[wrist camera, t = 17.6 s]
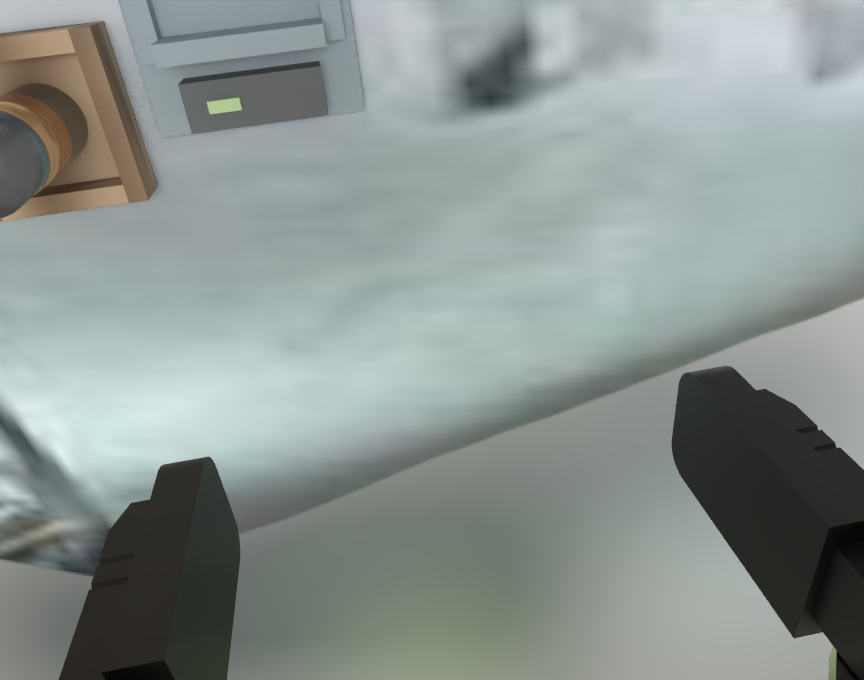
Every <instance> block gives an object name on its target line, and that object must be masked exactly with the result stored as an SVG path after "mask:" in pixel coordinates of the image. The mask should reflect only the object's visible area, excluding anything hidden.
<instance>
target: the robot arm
mask: <svg viewBox="0 0 864 680" xmlns="http://www.w3.org/2000/svg"><path fill="white" fill-rule="evenodd" d="M672 452H673V457H674V461H675V464H676V467H677V469H678V471H679V473H680V475H681V477H682V478H683V480H684V481H685V483H686V484H687V486H688V487H689V488H690V490H691V491H692V492H693V494H694V495H695V497H696V498H697V500H698V501H699V503H700V504H701V506H702V507H703V509H704V510H705V511H706V513H707V514H708V516H709V517H710V519H711V520H712V521H713V523H714V524H715V526H716V527H717V529H718V530H719V531H720V533H721V534H722V535H723V537H724V539H725V540H726V542H727V543H728V544H729V546H730V547H731V549H732V550H733V551H734V553H735V554H736V556H737V557H738V559H739V560H740V562H741V563H742V564H743V566H744V567H745V568H746V570H747V572H748V573H749V574H750V576H751V577H752V579H753V580H754V581H755V583H756V584H757V586H758V587H759V589H760V590H761V592H762V593H763V595H764V596H765V597H766V599H767V600H768V602H769V603H770V605H771V606H772V608H773V609H774V610H775V612H776V613H777V615H778V616H779V618H780V619H781V620H782V622H783V623H784V625H785V626H786V628H787V629H788V630H789V632H790V633H791V635H792V636H793V638H797V637H802V636H807V635H812V634H816V633H820V632H823V633H824V634H825V635H826V637H827V638H828V639H829V641H830V642H831V643H832V645H833V648H832V651H831V654H830V659H829V680H864V470H863V469H862V468H861V467H860V466H859V465H858V464H857V463H856V462H855V461H854V460H853V459H852V458H851V457H849V456H848V455H847V454H846V453H845V452H844V451H843V450H842V449H841V448H837V447H836V446H835V442H834V441H833V440H832V439H831V438H830V437H828V436H827V435H826V434H825V433H824V432H823V431H822V430H818V429H817V425H816V424H815V423H814V422H813V421H812V420H810V418H808V417H807V416H806V415H805V414H804V413H803V412H802V411H801V410H800V409H799V408H798V407H797V406H796V405H794V404H792V403H791V402H789V401H786V400H785V399H783V398H781V397H779V396H777V395H775V394H773V393H772V392H770V391H768V390H766V389H763V390H757V391H756V390H755V389H754V388H753V387H752V386H751V385H750V384H749V383H748V382H747V381H746V380H745V379H744V378H743V377H742V376H741V375H740V374H739V373H738V372H737V371H736V370H735V369H733V368H732V367H730V366H722V367H716V368H712V369H706V370H700V371H694V372H688V373H685V374H683V375H682V377H681V379H680V381H679V388H678V395H677V404H676V411H675V419H674V427H673V435H672ZM99 560H100V565H97V568H96V571H95V574H94V577H93V580H92V583H91V584H92V589H91V590H89V592H88V595H87V598H86V601H85V604H84V607H83V610H82V613H81V615H80V618H79V621H78V625H77V627H76V630H75V634H74V636H73V639H72V642H71V645H70V648H69V651H68V654H67V657H66V660H65V663H64V666H63V669H62V672H61V675H60V678H59V680H227V672H228V663H229V654H230V646H231V636H232V628H233V618H234V609H235V600H236V591H237V582H238V573H239V564H240V541H239V533H238V528H237V524H236V521H235V518H234V515H233V512H232V510H231V507H230V504H229V501H228V499H227V496H226V493H225V490H224V488H223V485H222V482H221V479H220V477H219V474H218V471H217V468H216V466H215V463H214V461H213V460H212V459H211V458H210V457H204V458H199V459H193V460H187V461H182V462H176V463H170V464H165V465H162V466H161V467H160V469H159V471H158V473H157V477H156V481H155V484H154V488H153V491H152V495H151V498H150V500H146V501H140V502H135V503H131V504H130V505H129V506H128V508H127V509H126V510H125V511H124V513H123V514H122V515H121V516H120V518H119V519H118V520H117V521H116V523H115V524H114V525H113V526H112V528H111V529H110V530H109V533H108V536H107V539H106V541H105V544H104V547H103V550H102V553H101V556H100V559H99Z"/></svg>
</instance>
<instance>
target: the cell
mask: <svg viewBox="0 0 864 680" xmlns="http://www.w3.org/2000/svg"><path fill="white" fill-rule="evenodd" d="M87 139H88V126H87V122H86V118H85V116H84V114H83V112H82V110H81V108H80V107H79V106H78V104H77V103H76V102H75V101H74V100H73V99H72V98H71V97H70V96H69V95H67V94H66V93H64V92H63V91H61V90H59V89H58V88H55V87H53V86H50V85H47V84H41V83H29V84H24V85H22V86H19V87H17V88H15V89H13V90H11V91H9V92H7V93H5V94H3V95H0V218H4V217H6V216H9V215H11V214H13V213H14V212H16V211H17V210H18V209H20V208H21V207H22V206H23V205H24V204H25V203H26V202H27V201H28V200H29V199H30V198H32V197H33V196H34V195H36V194H37V193H38V192H40V191H41V190H42V189H43V188H44V187H45V186H46V185H47V184H49V183H50V182H51V181H52V180H53V179H54V178H55V177H56V176H57V175H58V174H59V173H60V172H61V171H62V170H63V169H64V168H65V167H66V166H67V164H68V163H70V162H71V161H72V160H73V159H74V158H75V157H76V156H77V155H78V154H79V153H80V152H81V151H82V150H83V148H84V147H85V145H86V142H87Z"/></svg>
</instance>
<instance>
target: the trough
mask: <svg viewBox="0 0 864 680" xmlns="http://www.w3.org/2000/svg"><path fill="white" fill-rule="evenodd" d="M29 83H41V84H47V85H50V86H53V87H55V88H58V89H59V90H61V91H63V92H64V93H66V94H67V95H69V96H70V97H71V98H72V99H73V100H74V101H75V102H76V103H77V104H78V106H79V107H80V108H81V110H82V112H83V114H84V116H85V118H86V122H87V126H88V139H87V142H86V145H85V147H84V148H83V150H82V151H81V152H80V153H79V154H78V155H77V156H76V157H75V158H74V159H73V160H72V161H71V162H70V163H68V164H67V166H66V167H65V168H64V169H63V170H62V171H61V172H60V173H59V174H58V175H57V176H56V177H55V178H54V179H53V180H52V181H51V182H50V183H49V184H47V185H46V186H45V187H44V188H43V189H42V190H41V191H40V192H38V193H37V194H36V195H34V196H33V197H32V198H30V199H29V200H28V201H27V202H26V203H25V204H24V205H23V206H22V207H21V208H20V209H18V210H17V211H16V212H14V213H13V214H11V215H9V216H6V217H4V218H0V222H2V221H9V220H15V219H22V218H29V217H36V216H43V215H50V214H57V213H64V212H71V211H78V210H85V209H91V208H98V207H105V206H112V205H119V204H126V203H133V202H140V201H147V200H149V198H150V197H151V195H152V194H153V192H154V190H155V189H156V187H157V183H156V180H155V177H154V174H153V171H152V168H151V165H150V162H149V159H148V156H147V153H146V149H145V146H144V143H143V140H142V137H141V134H140V131H139V128H138V125H137V122H136V119H135V116H134V113H133V110H132V107H131V104H130V101H129V98H128V95H127V91H126V88H125V85H124V82H123V79H122V76H121V73H120V70H119V67H118V64H117V61H116V58H115V55H114V52H113V49H112V46H111V43H110V40H109V36H108V33H107V30H106V27H105V24H104V21H101V22H93V23H85V24H77V25H68V26H60V27H52V28H44V29H35V30H27V31H19V32H11V33H3V34H0V95H3V94H5V93H7V92H9V91H11V90H13V89H15V88H17V87H19V86H22V85H24V84H29Z"/></svg>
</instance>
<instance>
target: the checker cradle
mask: <svg viewBox="0 0 864 680" xmlns="http://www.w3.org/2000/svg"><path fill="white" fill-rule="evenodd" d="M118 1H119V5H120V8H121V11H122V14H123V17H124V21H125V24H126V27H127V30H128V33H129V37H130V40H131V43H132V46H133V50H134V53H135V56H136V59H137V62H138V66H139V69H140V72H141V75H142V78H143V82H144V85H145V88H146V91H147V94H148V98H149V101H150V104H151V107H152V110H153V114H154V117H155V120H156V123H157V126H158V130H159V133H160V136H161V138H168V137H175V136H182V135H190V134H197V133H204V132H211V131H219V130H226V129H233V128H241V127H248V126H255V125H262V124H270V123H277V122H284V121H292V120H299V119H306V118H313V117H321V116H328V115H335V114H343V113H350V112H357V111H365V107H364V100H363V93H362V86H361V79H360V72H359V66H358V59H357V52H356V45H355V38H354V31H353V24H352V18H351V11H350V4H349V0H118Z"/></svg>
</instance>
